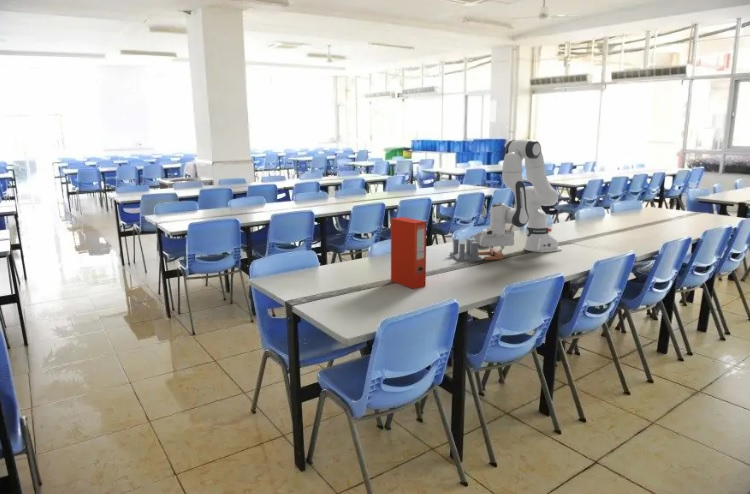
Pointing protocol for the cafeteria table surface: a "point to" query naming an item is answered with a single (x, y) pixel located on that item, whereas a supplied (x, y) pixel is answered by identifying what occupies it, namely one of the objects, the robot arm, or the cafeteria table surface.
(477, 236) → the teacup
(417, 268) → the file binder
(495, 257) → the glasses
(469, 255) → the display stand
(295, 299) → the cafeteria table surface
